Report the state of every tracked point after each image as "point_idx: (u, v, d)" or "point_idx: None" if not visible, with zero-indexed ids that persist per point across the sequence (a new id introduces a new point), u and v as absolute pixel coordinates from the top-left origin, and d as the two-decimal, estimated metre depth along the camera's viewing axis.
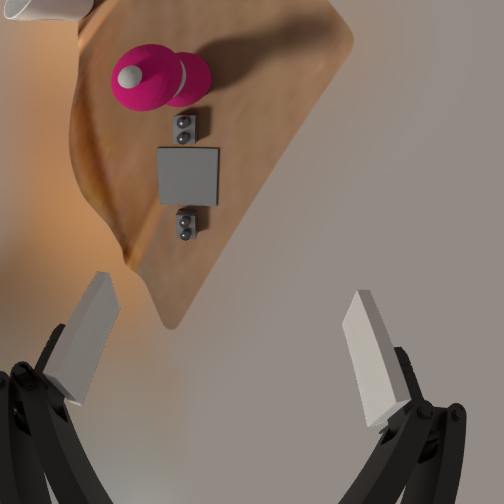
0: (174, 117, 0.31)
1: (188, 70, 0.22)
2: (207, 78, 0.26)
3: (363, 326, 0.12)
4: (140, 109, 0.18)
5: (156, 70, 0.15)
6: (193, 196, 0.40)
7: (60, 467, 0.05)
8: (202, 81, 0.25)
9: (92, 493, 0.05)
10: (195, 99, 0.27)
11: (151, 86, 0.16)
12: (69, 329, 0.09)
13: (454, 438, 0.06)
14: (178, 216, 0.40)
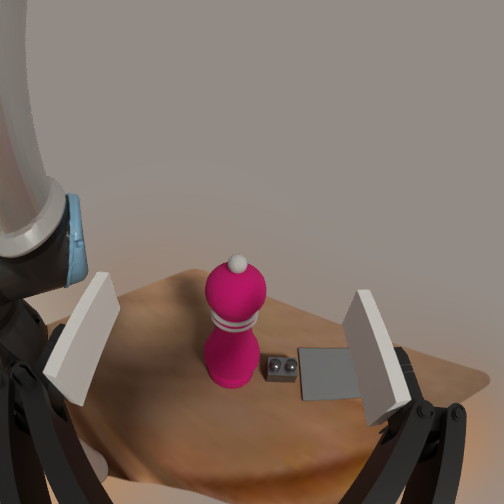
0: (269, 373, 0.33)
1: None
2: None
3: (363, 326, 0.12)
4: (265, 284, 0.26)
5: None
6: (347, 366, 0.37)
7: (60, 467, 0.05)
8: None
9: (92, 494, 0.05)
10: None
11: (247, 264, 0.26)
12: (69, 329, 0.09)
13: (454, 438, 0.06)
14: None
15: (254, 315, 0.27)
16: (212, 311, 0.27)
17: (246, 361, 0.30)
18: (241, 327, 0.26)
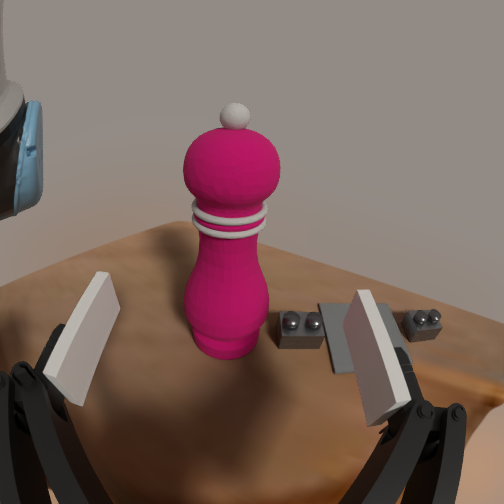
0: (284, 334, 0.23)
1: None
2: None
3: (363, 326, 0.12)
4: (277, 155, 0.16)
5: None
6: (386, 325, 0.27)
7: (60, 467, 0.05)
8: None
9: (92, 493, 0.05)
10: None
11: None
12: (69, 329, 0.09)
13: (454, 438, 0.06)
14: (417, 327, 0.24)
15: (262, 211, 0.17)
16: (194, 207, 0.17)
17: (249, 304, 0.19)
18: (241, 228, 0.16)
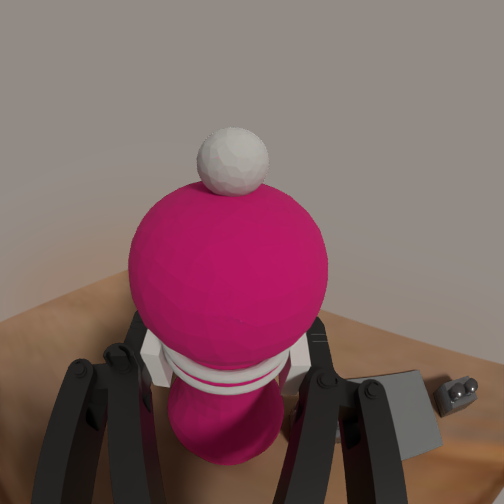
0: None
1: None
2: None
3: None
4: (324, 245, 0.08)
5: None
6: (417, 400, 0.19)
7: (132, 461, 0.06)
8: None
9: (154, 492, 0.05)
10: None
11: (263, 184, 0.08)
12: None
13: (376, 419, 0.07)
14: (453, 404, 0.16)
15: None
16: None
17: (259, 436, 0.11)
18: (248, 382, 0.08)
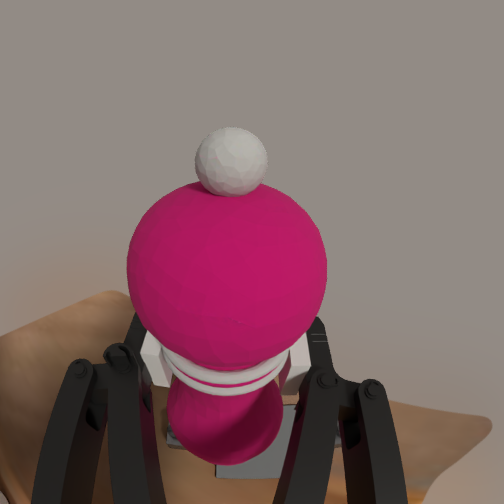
0: (168, 442, 0.21)
1: None
2: None
3: None
4: (323, 245, 0.08)
5: None
6: (287, 432, 0.24)
7: (132, 462, 0.06)
8: None
9: (154, 492, 0.05)
10: None
11: (262, 184, 0.08)
12: None
13: (376, 419, 0.07)
14: None
15: None
16: None
17: (258, 436, 0.11)
18: (247, 383, 0.08)
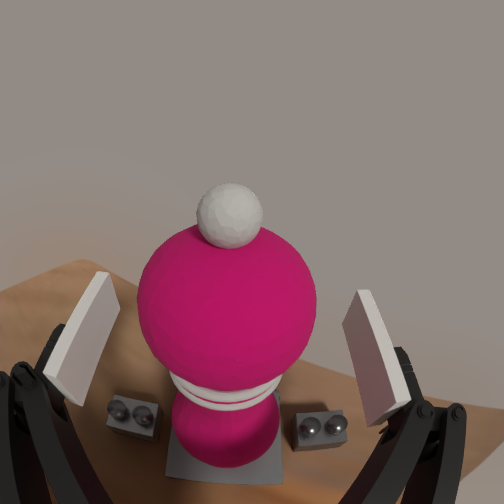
0: (108, 423, 0.16)
1: None
2: None
3: (363, 326, 0.12)
4: (313, 284, 0.09)
5: None
6: None
7: (60, 467, 0.05)
8: None
9: (92, 493, 0.05)
10: None
11: None
12: (69, 329, 0.09)
13: (454, 438, 0.06)
14: (300, 441, 0.16)
15: None
16: None
17: (256, 443, 0.12)
18: (245, 400, 0.09)
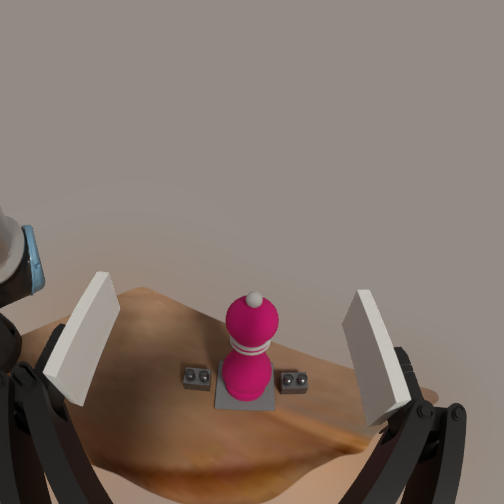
0: (184, 382, 0.37)
1: None
2: None
3: (363, 326, 0.12)
4: (277, 314, 0.30)
5: None
6: None
7: (60, 467, 0.05)
8: None
9: (92, 493, 0.05)
10: None
11: (261, 298, 0.30)
12: (69, 329, 0.09)
13: (454, 438, 0.06)
14: (283, 386, 0.37)
15: (268, 340, 0.31)
16: (232, 338, 0.31)
17: (261, 377, 0.33)
18: (257, 351, 0.30)
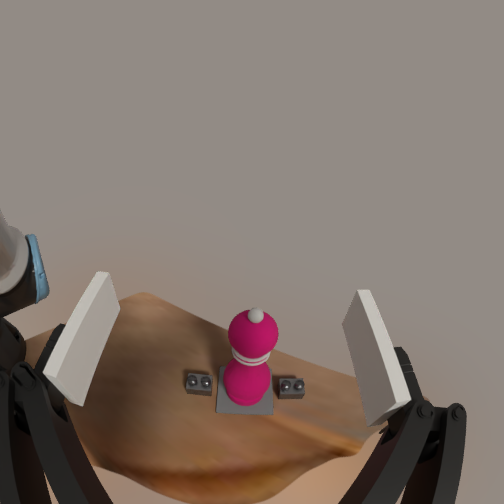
0: (187, 387, 0.38)
1: None
2: None
3: (363, 326, 0.12)
4: (277, 328, 0.31)
5: None
6: None
7: (60, 467, 0.05)
8: None
9: (92, 494, 0.05)
10: None
11: (262, 313, 0.31)
12: (69, 329, 0.09)
13: (454, 438, 0.06)
14: (281, 391, 0.39)
15: None
16: (234, 349, 0.32)
17: (260, 385, 0.35)
18: (258, 361, 0.31)
